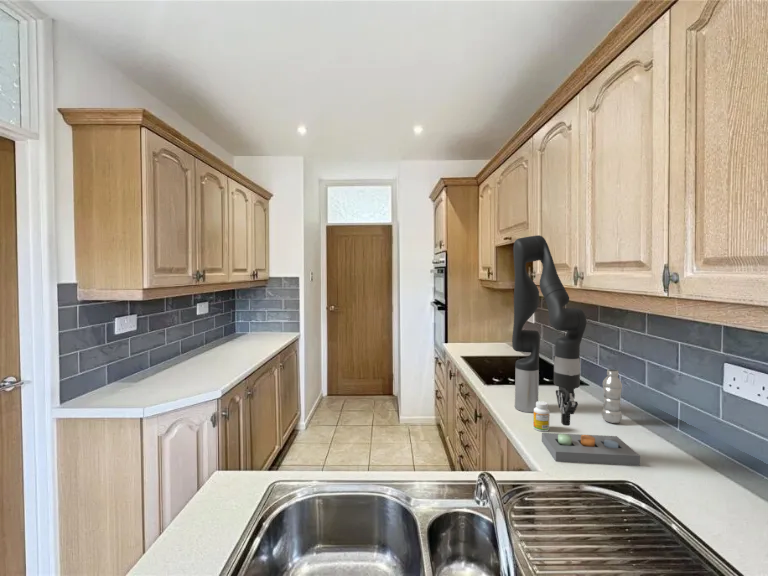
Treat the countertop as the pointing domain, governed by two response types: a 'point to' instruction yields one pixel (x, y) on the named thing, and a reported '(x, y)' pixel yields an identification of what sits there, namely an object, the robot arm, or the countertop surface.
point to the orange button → (587, 441)
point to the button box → (590, 450)
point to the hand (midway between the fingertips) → (565, 424)
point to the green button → (564, 439)
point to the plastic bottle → (612, 397)
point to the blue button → (610, 444)
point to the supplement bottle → (541, 416)
